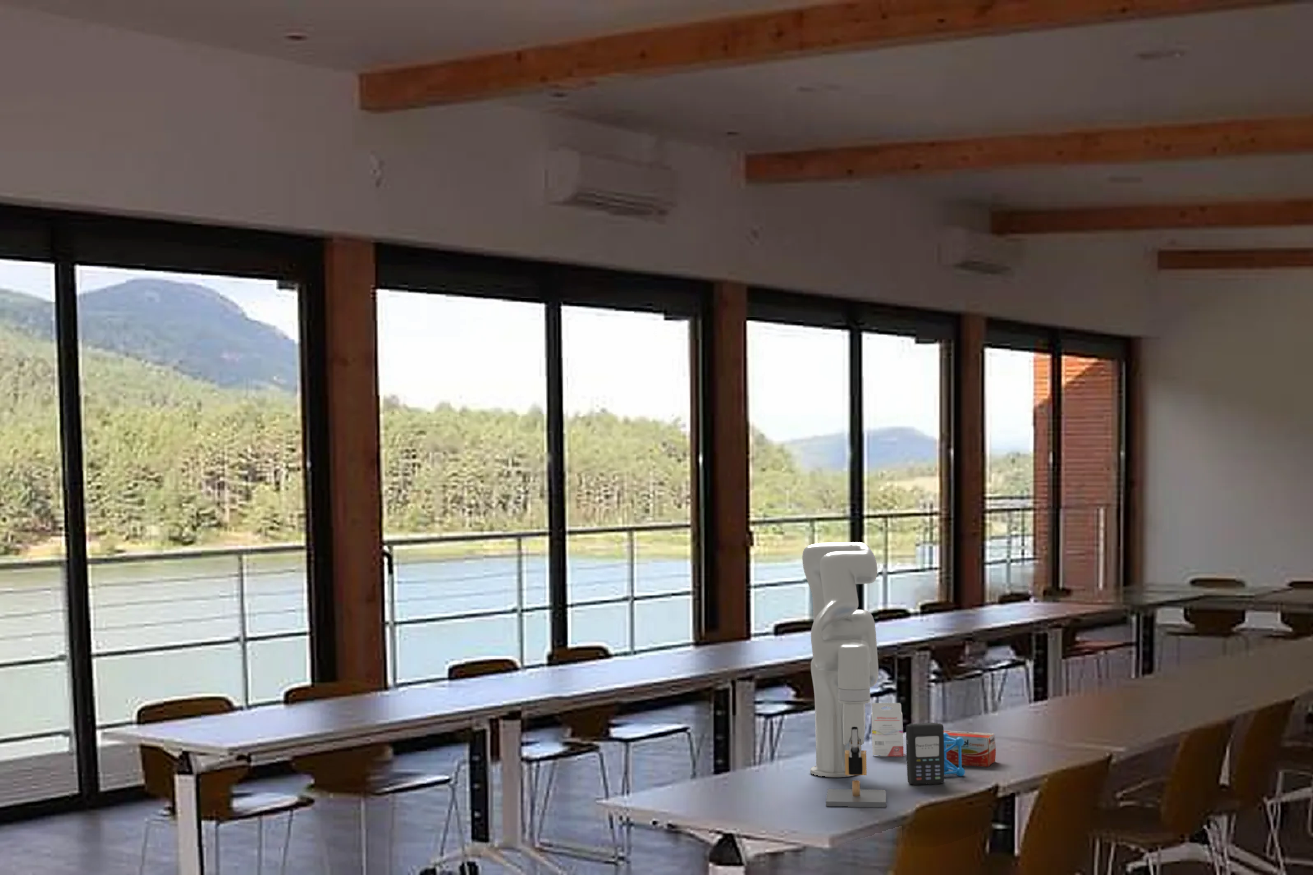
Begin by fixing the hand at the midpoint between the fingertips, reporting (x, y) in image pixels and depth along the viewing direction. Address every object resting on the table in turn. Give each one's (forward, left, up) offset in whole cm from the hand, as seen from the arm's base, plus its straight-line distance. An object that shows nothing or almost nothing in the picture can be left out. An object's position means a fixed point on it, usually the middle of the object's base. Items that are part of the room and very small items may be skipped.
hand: (855, 771), depth 367 cm
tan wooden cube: (0, 0, -1) cm, 1 cm away
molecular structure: (-33, +21, -7) cm, 40 cm away
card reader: (-21, +17, -7) cm, 28 cm away
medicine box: (-50, +28, -7) cm, 58 cm away
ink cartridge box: (-60, +8, -7) cm, 61 cm away
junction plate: (0, 0, -7) cm, 7 cm away
